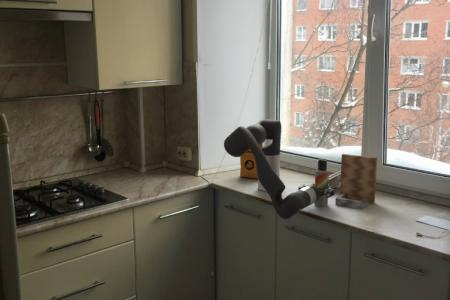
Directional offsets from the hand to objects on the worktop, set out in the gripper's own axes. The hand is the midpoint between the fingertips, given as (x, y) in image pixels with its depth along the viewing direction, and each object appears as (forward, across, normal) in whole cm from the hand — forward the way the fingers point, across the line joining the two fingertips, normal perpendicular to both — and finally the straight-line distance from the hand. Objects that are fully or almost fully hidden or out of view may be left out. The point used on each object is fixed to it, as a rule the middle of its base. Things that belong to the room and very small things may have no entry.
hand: (322, 187), depth 225 cm
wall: (+26, -8, -8) cm, 29 cm away
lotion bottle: (-1, 0, -8) cm, 8 cm away
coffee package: (+26, -49, -8) cm, 56 cm away
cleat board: (+8, +11, -8) cm, 15 cm away
